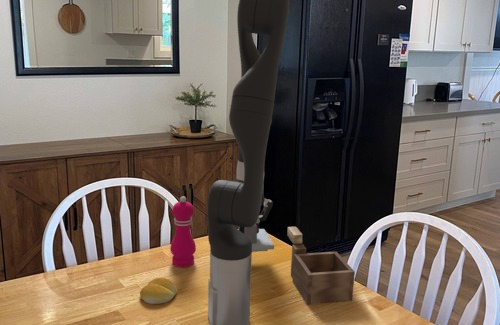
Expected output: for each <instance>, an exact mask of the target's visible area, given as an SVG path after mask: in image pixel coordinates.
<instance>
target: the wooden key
mask: <svg viewBox="0 0 500 325" xmlns="http://www.w3.org/2000/svg"><path fill="white" fill-rule="evenodd" d="M286 236H287V237H288V239H289V240H290V241H291V242H292V245H298V244H303V233H302V232H301V231H300V229H299V228H298V227H297V226H287V235H286Z"/></svg>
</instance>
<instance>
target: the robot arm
mask: <svg viewBox="0 0 500 325" xmlns="http://www.w3.org/2000/svg"><path fill="white" fill-rule="evenodd" d="M290 9H291V8H290V0H239V1H238V6H237V17H236V18H237V21H236V22H237V25H236V26H237V34H238V38H237V39H238V50H239V56H240V58H239V59H240V67H241V68H240V70H241V71H240V72H241V74H240V79H239V80H238V82H237V83H236V84H235V86H234V88H233V91H232V96H231V101H230V109H229V116H228V118H229V119H228V120H229V126H230V129H231V131H232V134H233V136H234V139H235V141H236V144H237V163H236V181H234V180H225V179H219V180H216V181H215V182H213V183H212V185H211V186H210V187H209V188H210V189H209V191H208V195H207V203H206V204H207V205H206V206H207V207H206V209H207V210H206V213H207V231H208V232H207V236H208V237H207V238H208V244H209V248H210V250H209V252H210V253H209V279H208V288H207V289H208V291H207V292H208V293H207V296H208V297H207V301H208V302H207V304H208V305H207V317H208V322H209V325H249V324H250V319H251V318H250V316H251V288H252V287H251V283H252V280H251V279H252V262H253V261H252V258H253V257H252V254H253V252H252V242H251V239H250V238H249V237H248V236H247V235H245V234H244V227H252V226H253V225H254V224H255V223H256V225H257V233H259V229H260V223H261V222H265V221H266V220H267V219H268V216H269V214H270V211H271V210H272V208H273V205H274V202H273V201H272V200H271V199H269V198H268V199H267V198H265V196H264V187H265V186H264V182H265V162H266V153H267V146H268V141H269V136H270V130H271V125H272V122H273V113H274V111H273V110H274V106H275V99H276V98H275V97H276V90H277V89H276V88H277V82H278V80H277V79H278V74H279V66H280V60H281V54H282V50H283V46H284V41H285V38H286V37H285V36H286V31H287V26H288V22H289V21H288V20H289V15H290ZM253 34H255V35H262V36H263V35H264V36H269V39H268V40H267V43H266V46H265V47H264V49H263V51H262V53H261V54H260V51H259V50H258V48H257V46H256V44H255V41H254V36H253ZM262 205H263V209H262V210H261V207H262ZM236 226H237V227H236Z"/></svg>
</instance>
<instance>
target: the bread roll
mask: <svg viewBox="0 0 500 325" xmlns="http://www.w3.org/2000/svg"><path fill="white" fill-rule="evenodd" d="M177 290H178V289H177V286H176V283H174V282H173V281H172V280H171V279H168V278H167V277H156V278H154V279H152V280H150V281H149V282H148V283H147V285H145V286H143V287H142V288H141V290H140V291H139V295H140V298H141V299H142V300H143V301H144V302H145V303H147V304H151V305H159V304H165V303H167V302H170V301H171V300H172V299H173V298H174V297H175V295H176V294H177Z"/></svg>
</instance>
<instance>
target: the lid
mask: <svg viewBox="0 0 500 325" xmlns="http://www.w3.org/2000/svg"><path fill="white" fill-rule="evenodd" d="M244 234H245V235H247V236H248V237H249V238H250V239H251V242H252V253H253V252H255V253H257V252H268V251H269V250H275V244H274V243H273V241H272V239H271V237H270V236H269V235H268V232H267V231H266V230H265V228H259V233H257V225H256V223H255V224H254V225H253V226H252V227H244Z"/></svg>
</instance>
